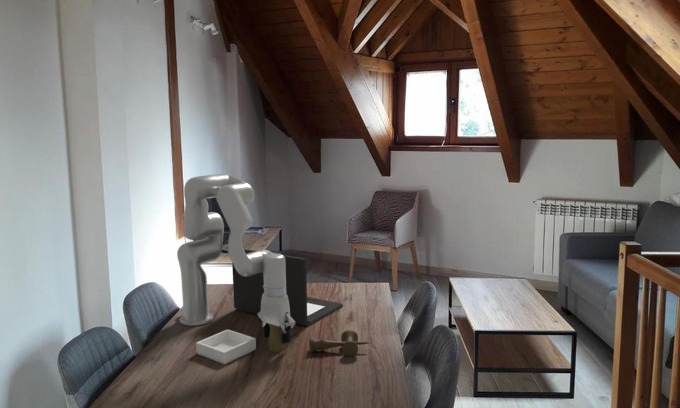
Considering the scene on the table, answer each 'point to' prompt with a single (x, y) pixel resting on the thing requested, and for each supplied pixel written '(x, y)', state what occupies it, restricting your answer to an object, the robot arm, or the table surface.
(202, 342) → the box
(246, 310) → the laptop
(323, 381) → the table surface
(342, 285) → the table surface
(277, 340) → the cork
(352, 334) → the kendama
